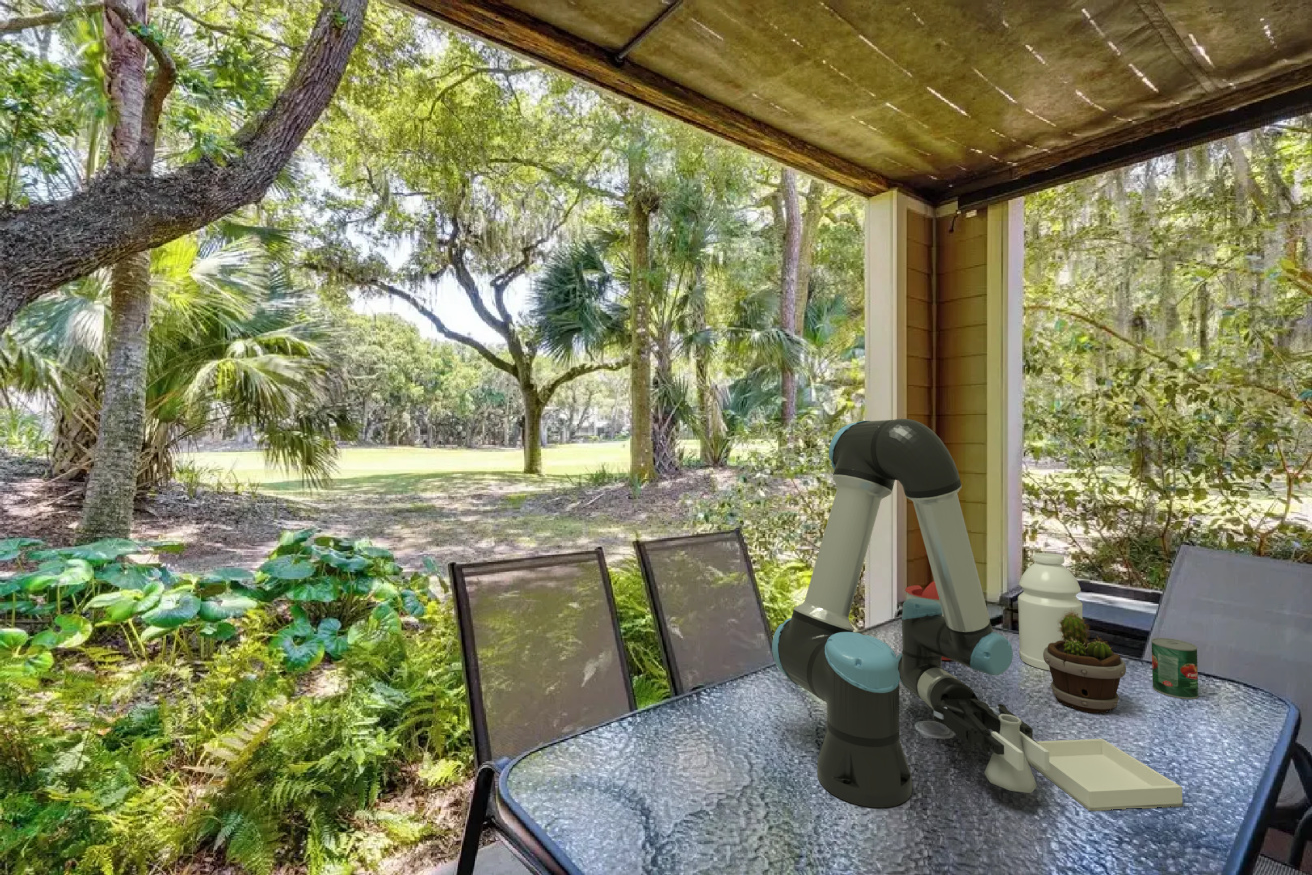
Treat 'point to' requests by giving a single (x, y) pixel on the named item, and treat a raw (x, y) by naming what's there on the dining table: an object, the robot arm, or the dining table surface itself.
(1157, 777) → the box
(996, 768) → the flask
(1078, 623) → the flowerpot
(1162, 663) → the canned tomato
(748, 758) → the dining table surface
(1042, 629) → the bottle
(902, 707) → the dining table surface
